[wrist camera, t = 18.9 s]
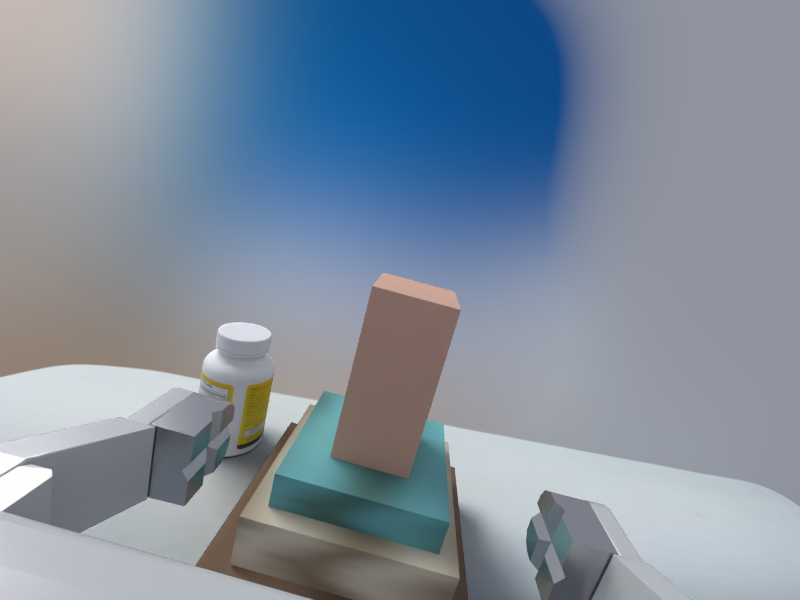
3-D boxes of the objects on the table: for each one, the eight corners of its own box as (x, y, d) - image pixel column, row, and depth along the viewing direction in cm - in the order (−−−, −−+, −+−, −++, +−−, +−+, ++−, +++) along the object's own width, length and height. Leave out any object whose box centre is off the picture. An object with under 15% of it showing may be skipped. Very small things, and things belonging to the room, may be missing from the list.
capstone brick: (330, 456, 21) (372, 285, 18) (347, 414, 25) (383, 272, 23) (408, 478, 21) (460, 309, 18) (411, 432, 25) (454, 291, 23)
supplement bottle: (260, 418, 35) (279, 322, 33) (262, 458, 30) (284, 348, 28) (196, 418, 33) (211, 315, 31) (187, 460, 28) (204, 342, 26)
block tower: (175, 632, 18) (196, 496, 16) (284, 452, 32) (302, 368, 30) (456, 714, 18) (510, 585, 16) (444, 497, 31) (472, 415, 29)
